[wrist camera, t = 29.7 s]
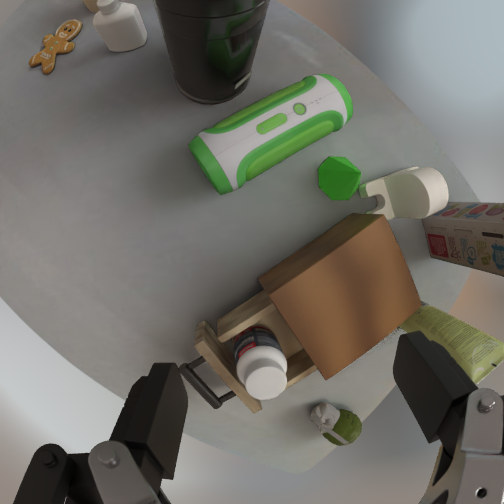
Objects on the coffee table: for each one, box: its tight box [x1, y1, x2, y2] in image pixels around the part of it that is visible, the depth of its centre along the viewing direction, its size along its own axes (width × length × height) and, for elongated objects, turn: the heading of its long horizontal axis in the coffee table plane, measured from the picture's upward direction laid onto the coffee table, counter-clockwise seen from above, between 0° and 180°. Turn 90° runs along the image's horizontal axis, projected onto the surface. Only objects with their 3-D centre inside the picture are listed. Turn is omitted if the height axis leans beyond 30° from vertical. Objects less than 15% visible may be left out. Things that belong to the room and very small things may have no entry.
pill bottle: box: [234, 325, 287, 400], centre depth 29 cm, size 5×5×9 cm
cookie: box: [29, 19, 82, 74], centre depth 26 cm, size 8×1×10 cm
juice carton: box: [422, 202, 504, 277], centre depth 26 cm, size 7×7×22 cm
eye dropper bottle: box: [93, 0, 147, 52], centre depth 22 cm, size 4×6×12 cm
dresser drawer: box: [178, 290, 318, 413], centre depth 32 cm, size 18×11×6 cm, turn 123°
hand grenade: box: [310, 403, 362, 446], centre depth 36 cm, size 6×6×10 cm
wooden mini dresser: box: [258, 213, 422, 380], centre depth 32 cm, size 15×13×8 cm
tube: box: [399, 301, 504, 385], centre depth 28 cm, size 6×5×20 cm
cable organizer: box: [358, 167, 449, 221], centre depth 30 cm, size 5×10×10 cm, turn 111°
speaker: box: [188, 74, 353, 195], centre depth 29 cm, size 18×7×8 cm, turn 123°
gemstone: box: [318, 157, 361, 200], centre depth 31 cm, size 6×6×6 cm
